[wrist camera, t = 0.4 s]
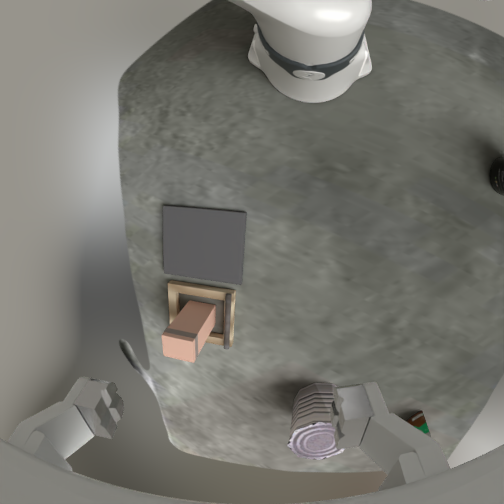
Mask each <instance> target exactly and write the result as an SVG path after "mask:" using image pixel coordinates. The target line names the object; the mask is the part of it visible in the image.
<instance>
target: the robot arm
mask: <svg viewBox="0 0 504 504" xmlns="http://www.w3.org/2000/svg"><path fill="white" fill-rule="evenodd" d="M227 1H229V2H232V3H234V4H236V5H238V6H240V7H242V8H243V9H245V10H247V11H248V12H250V13H251V14H252V15H253V16H254V18H255V19H256V21H257V24H255V25H254V32H255V35H254V38H253V41H252V44H251V47H250V50H249V53H248V59H249V61H250V62H251V63H252V64H253V65H254V66H256V67H257V68H259V69H261V70H262V71H263V72H264V73H265V75H266V76H267V78H268V79H269V81H270V82H271V83H272V85H273V86H274V87H275V88H276V89H277V90H279V91H280V92H281V93H283V94H284V95H286V96H288V97H290V98H292V99H295V100H298V101H302V102H310V103H317V102H325V101H329V100H331V99H334V98H336V97H338V96H340V95H341V94H343V93H344V92H345V91H346V90H347V89H348V88H349V87H350V86H351V85H352V83H353V82H354V81H355V80H357V79H359V78H362V77H364V76H366V75H368V74H369V73H370V72H371V69H372V65H371V60H370V55H369V51H368V46H367V42H366V38H365V34H364V28H365V25H366V23H367V21H368V18H369V16H370V13H371V9H372V0H227ZM482 1H491V0H482ZM116 391H117V387H116V385H115V383H112V382H108V381H103V380H97V379H92V378H87V377H80V378H78V380H77V381H76V383H75V384H74V386H73V387H72V389H71V390H70V392H69V393H68V395H67V396H66V398H65V399H64V401H63V402H58V403H56V404H54V405H52V406H50V407H49V408H47V409H45V410H43V411H41V412H39V413H37V414H35V415H33V416H31V417H30V418H28V419H26V420H24V421H22V422H20V423H19V425H18V426H17V428H16V429H15V431H14V432H13V434H12V435H11V437H10V438H9V440H8V441H7V442H6V441H5V440H3V439H1V438H0V504H223V503H210V502H200V501H191V500H183V499H177V498H170V497H164V496H159V495H154V494H149V493H144V492H140V491H135V490H131V489H126V488H123V487H119V486H115V485H112V484H108V483H105V482H102V481H98V480H95V479H92V478H89V477H86V476H83V475H80V474H77V473H75V472H72V467H71V466H70V465H69V464H68V462H67V461H66V460H65V459H66V458H67V457H68V456H70V455H71V454H72V453H73V452H75V451H76V450H77V449H79V448H80V447H81V446H82V445H84V444H85V443H86V442H88V441H89V440H90V439H91V438H92V437H94V435H97V436H101V437H105V438H110V439H112V438H113V435H114V433H115V431H116V429H117V425H116V422H117V421H118V420H120V419H121V417H122V415H123V411H124V404H123V400H122V398H121V397H120V396H119V395H118V394H117V393H116ZM333 397H334V401H333V402H331V408H330V417H331V424H332V427H334V428H335V432H334V439H335V444H336V449H345V448H353V447H359V448H360V449H361V450H362V451H363V452H364V453H365V454H366V455H367V456H368V457H369V458H371V459H372V460H373V461H374V462H375V463H376V464H377V465H378V466H379V467H380V468H381V469H382V470H383V471H384V472H385V473H386V474H388V476H387V477H386V478H385V480H384V482H383V483H382V485H381V486H380V487H379V491H377V492H372V493H368V494H363V495H358V496H352V497H346V498H341V499H333V500H326V501H318V502H307V503H294V504H504V445H502V446H500V447H498V448H496V449H494V450H492V451H490V452H488V453H486V454H484V455H482V456H480V457H477V458H475V459H473V460H471V461H468V462H466V463H464V464H462V465H459V466H457V467H454V468H452V469H450V467H449V464H448V462H447V460H446V457H445V455H444V453H443V451H442V448H441V446H440V444H439V442H437V441H435V440H434V439H432V438H431V437H429V436H428V435H426V434H424V433H423V432H421V431H420V430H418V429H417V428H415V427H414V426H412V425H410V424H409V423H407V422H406V421H404V420H403V419H401V418H400V417H398V416H397V415H395V414H394V413H390V414H389V412H388V409H387V407H386V404H385V402H384V399H383V397H382V394H381V392H380V389H379V387H378V384H377V383H376V382H370V383H364V384H356V385H349V386H340V387H335V388H334V391H333Z"/></svg>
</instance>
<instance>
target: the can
mask: <svg viewBox="0 0 504 504" xmlns="http://www.w3.org/2000/svg"><path fill="white" fill-rule="evenodd" d="M335 387H338V386H336V385H334V384H333V383H313V384H311V385H309V386H307V387H304V388H302V389H300V390H299V392H298V394H297V395H296V397H295V399H294V403H293V413H292V422H291V431H290V441H289V443H288V445H287V446H288V447H289V448H290V449H291V450H292V451H293V452H294V453H295V454H296V455H297V456H298V457H301V458H308V459H317V460H322V459H325V458H328V457H331V456H334V455H336V454H339V453H342V452H343V451H344V449H336V444H335V439H334V432H335V428H334V427H332V424H331V417H330V408H331V402H333V401H334V397H333V391H334V388H335Z"/></svg>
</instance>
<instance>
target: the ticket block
mask: <svg viewBox="0 0 504 504" xmlns="http://www.w3.org/2000/svg"><path fill="white" fill-rule="evenodd" d="M215 312H216V305H213V304H207V303H202V302H196V301H190V300H189V301H188V303H187V304H186V305H185V306H184V308H183V309H182V310H181V311H180V313H179V314H178V315H177V316H176V318H175V319H174V320H173V321H172V323H171V324H170V325H169V326H168V328H166V329H165V331H164V333H163V334H162V343H163V353H164V356H167V357H171V358H175V359H180V360H184V361H188V362H193V363H194V361H195V360H196V359H197V357H198V354H199V352H200V350H201V349H202V347H203V345H204V343H205V341H206V340H207V338H208V336H209V334H210V332H211V331H212V329H213V327H214V325H215Z"/></svg>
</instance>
